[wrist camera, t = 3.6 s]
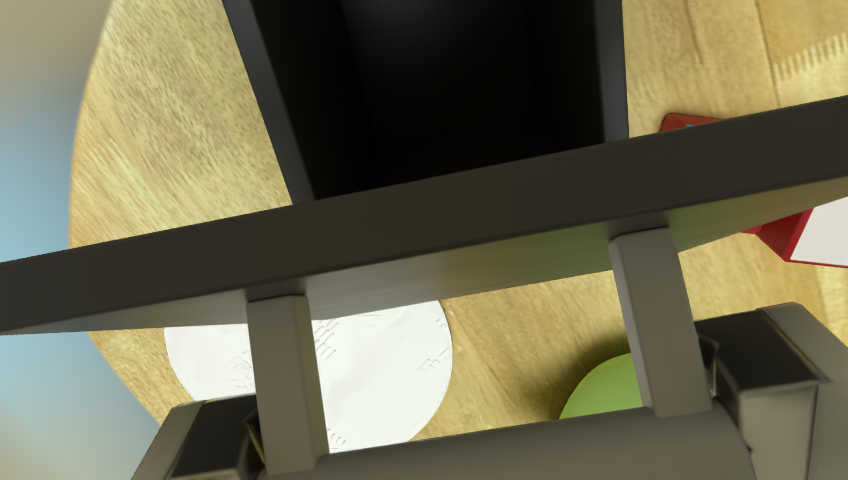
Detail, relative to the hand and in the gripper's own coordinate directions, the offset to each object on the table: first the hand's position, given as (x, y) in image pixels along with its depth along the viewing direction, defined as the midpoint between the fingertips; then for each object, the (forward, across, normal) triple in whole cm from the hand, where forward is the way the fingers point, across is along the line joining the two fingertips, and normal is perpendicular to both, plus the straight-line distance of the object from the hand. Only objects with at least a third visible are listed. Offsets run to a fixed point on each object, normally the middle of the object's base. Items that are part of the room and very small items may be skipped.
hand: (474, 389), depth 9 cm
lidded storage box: (+26, 0, -3) cm, 26 cm away
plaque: (+26, +13, +17) cm, 34 cm away
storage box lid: (+4, 0, 0) cm, 4 cm away
